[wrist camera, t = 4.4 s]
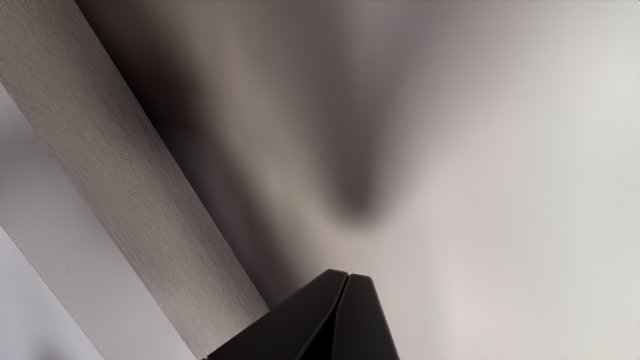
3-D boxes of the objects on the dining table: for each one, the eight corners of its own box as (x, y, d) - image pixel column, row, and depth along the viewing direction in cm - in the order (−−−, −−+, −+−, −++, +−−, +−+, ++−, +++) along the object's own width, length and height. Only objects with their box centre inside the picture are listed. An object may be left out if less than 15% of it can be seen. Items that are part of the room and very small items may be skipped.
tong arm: (248, 418, 13) (199, 528, 10) (-358, -449, 8) (-745, -646, 5) (346, 399, 11) (317, 519, 9) (-295, -640, 6) (-756, -1014, 4)
